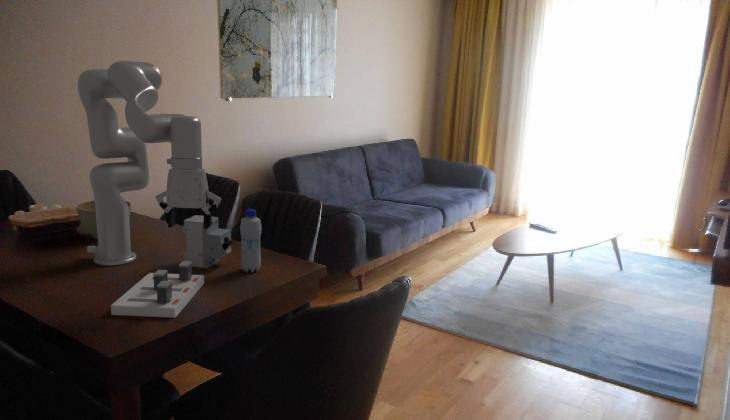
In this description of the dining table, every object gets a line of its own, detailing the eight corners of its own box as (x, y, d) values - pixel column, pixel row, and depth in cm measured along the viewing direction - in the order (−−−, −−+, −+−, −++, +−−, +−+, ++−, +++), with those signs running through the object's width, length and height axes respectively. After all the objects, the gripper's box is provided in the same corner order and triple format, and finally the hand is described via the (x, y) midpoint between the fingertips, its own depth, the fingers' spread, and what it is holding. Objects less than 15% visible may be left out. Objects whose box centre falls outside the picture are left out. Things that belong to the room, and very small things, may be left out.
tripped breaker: (154, 290, 143) (153, 274, 142) (159, 285, 146) (158, 269, 145) (163, 290, 143) (162, 274, 142) (167, 285, 146) (167, 270, 145)
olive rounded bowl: (68, 237, 195) (65, 205, 192) (113, 227, 210) (111, 197, 207) (97, 246, 186) (95, 213, 183) (143, 236, 201) (141, 204, 198)
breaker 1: (157, 302, 135) (156, 285, 134) (162, 296, 138) (162, 280, 137) (166, 302, 135) (166, 286, 134) (172, 297, 138) (171, 281, 137)
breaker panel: (111, 314, 133) (110, 305, 133) (149, 280, 157) (149, 272, 156) (175, 317, 134) (174, 308, 133) (204, 283, 157) (203, 275, 156)
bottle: (238, 267, 171) (237, 207, 167) (259, 265, 174) (259, 206, 169) (242, 274, 165) (241, 212, 161) (263, 272, 168) (263, 211, 163)
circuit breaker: (225, 270, 169) (225, 224, 165) (184, 265, 171) (183, 220, 168) (236, 263, 176) (235, 219, 172) (196, 258, 178) (195, 215, 175)
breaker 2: (179, 280, 151) (178, 265, 150) (183, 275, 154) (183, 260, 153) (187, 280, 151) (187, 265, 150) (191, 276, 154) (191, 261, 153)
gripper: (148, 164, 136) (151, 229, 140) (215, 167, 135) (216, 232, 139) (160, 160, 143) (163, 222, 147) (224, 163, 143) (225, 225, 146)
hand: (189, 227), depth 143 cm, fingers open, 9 cm apart
